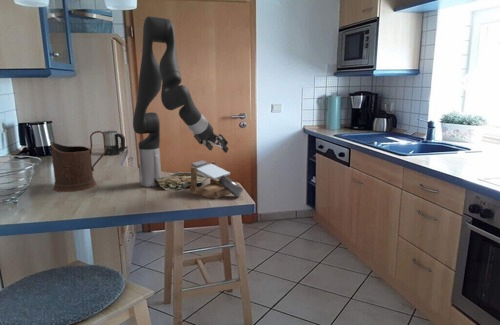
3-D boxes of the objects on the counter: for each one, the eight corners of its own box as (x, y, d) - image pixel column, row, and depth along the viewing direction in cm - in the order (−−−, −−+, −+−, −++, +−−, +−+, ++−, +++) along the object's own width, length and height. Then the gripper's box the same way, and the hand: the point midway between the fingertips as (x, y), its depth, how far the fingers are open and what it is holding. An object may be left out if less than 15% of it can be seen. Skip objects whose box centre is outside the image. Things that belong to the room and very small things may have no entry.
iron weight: (220, 177, 156) (238, 191, 153) (226, 173, 160) (244, 187, 157) (217, 185, 159) (235, 198, 156) (223, 181, 162) (241, 194, 159)
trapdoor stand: (189, 192, 163) (188, 166, 161) (211, 185, 174) (210, 160, 172) (216, 199, 155) (215, 172, 152) (237, 190, 166) (236, 165, 163)
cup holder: (56, 182, 180) (50, 130, 174) (110, 178, 187) (105, 128, 181) (49, 193, 163) (41, 136, 157) (108, 188, 170) (103, 133, 164)
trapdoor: (188, 168, 164) (188, 163, 163) (204, 164, 172) (205, 159, 171) (213, 182, 156) (214, 177, 155) (229, 176, 164) (230, 171, 164)
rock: (158, 190, 178) (161, 196, 164) (154, 176, 177) (157, 180, 163) (205, 178, 185) (212, 182, 171) (202, 164, 184) (209, 167, 170)
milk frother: (103, 156, 238) (100, 132, 235) (106, 151, 253) (104, 129, 249) (126, 154, 241) (124, 131, 238) (128, 150, 256) (126, 128, 253)
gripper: (217, 119, 146) (236, 144, 157) (191, 117, 154) (210, 141, 165) (208, 135, 143) (228, 159, 154) (182, 132, 151) (202, 155, 162)
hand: (219, 149), depth 160 cm, fingers open, 8 cm apart
